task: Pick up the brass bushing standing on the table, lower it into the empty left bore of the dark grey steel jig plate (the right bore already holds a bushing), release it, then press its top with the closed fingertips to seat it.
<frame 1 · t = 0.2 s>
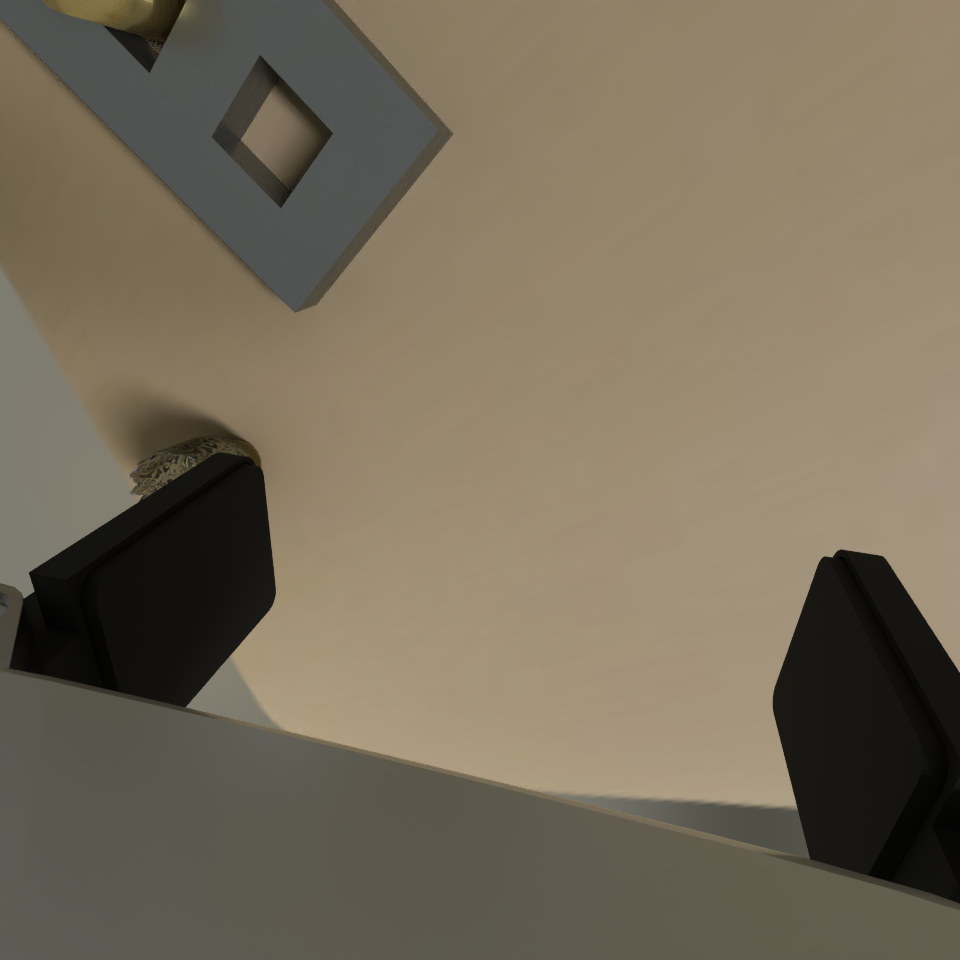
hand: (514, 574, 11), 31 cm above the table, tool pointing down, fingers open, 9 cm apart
jig: (234, 72, 37), on the table
cup: (245, 457, 49), on the table
seated bushing: (169, 3, 37), resting in jig
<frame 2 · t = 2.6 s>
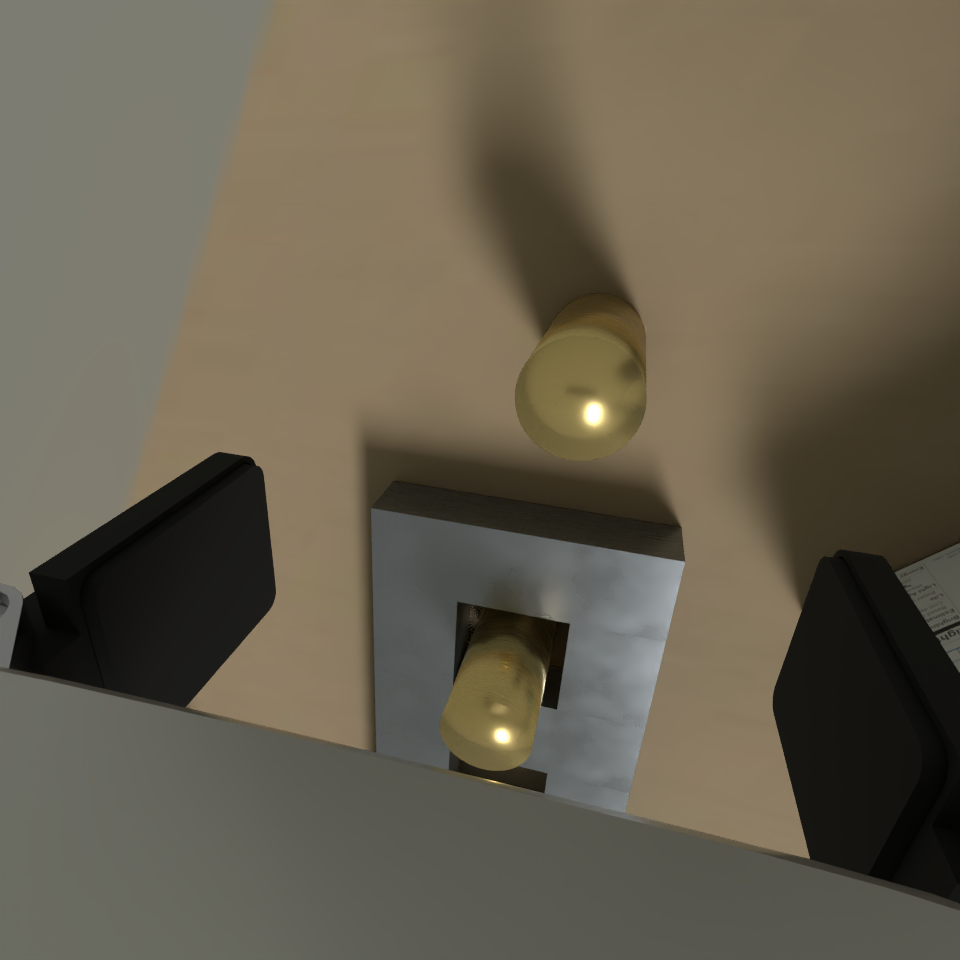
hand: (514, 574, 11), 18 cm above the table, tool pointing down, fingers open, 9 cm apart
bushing: (596, 342, 26), on the table
light bulb box: (950, 608, 28), on the table
jig: (511, 689, 35), on the table
seated bushing: (519, 618, 33), resting in jig
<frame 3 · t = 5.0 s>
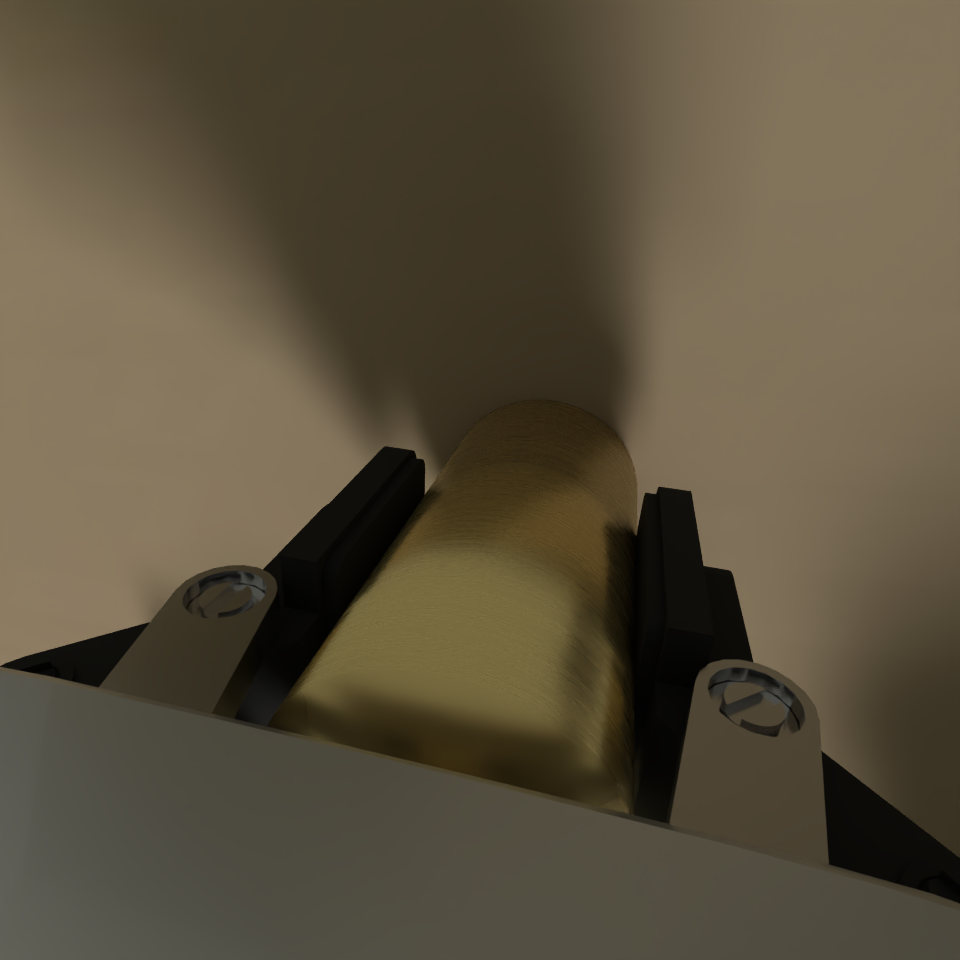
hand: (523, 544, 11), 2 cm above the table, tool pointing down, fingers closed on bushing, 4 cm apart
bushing: (541, 489, 13), on the table, touching gripper
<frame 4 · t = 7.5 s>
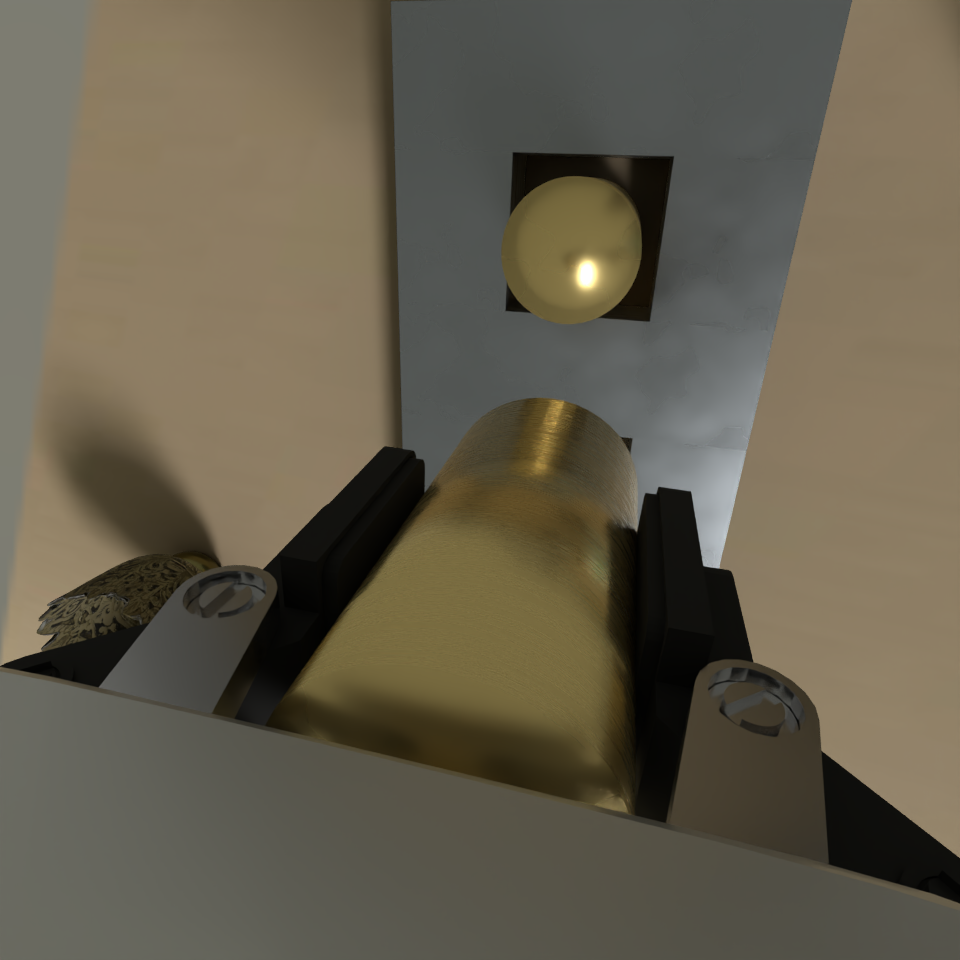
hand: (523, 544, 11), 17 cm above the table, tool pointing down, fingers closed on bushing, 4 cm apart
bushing: (541, 487, 13), point 15 cm above the table, touching gripper
jig: (577, 356, 27), on the table
cup: (204, 570, 38), on the table
seated bushing: (589, 233, 25), resting in jig
when the fingers open (4 cm above the table, at t = 10.3 s): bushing drops 2 cm, resting in jig.
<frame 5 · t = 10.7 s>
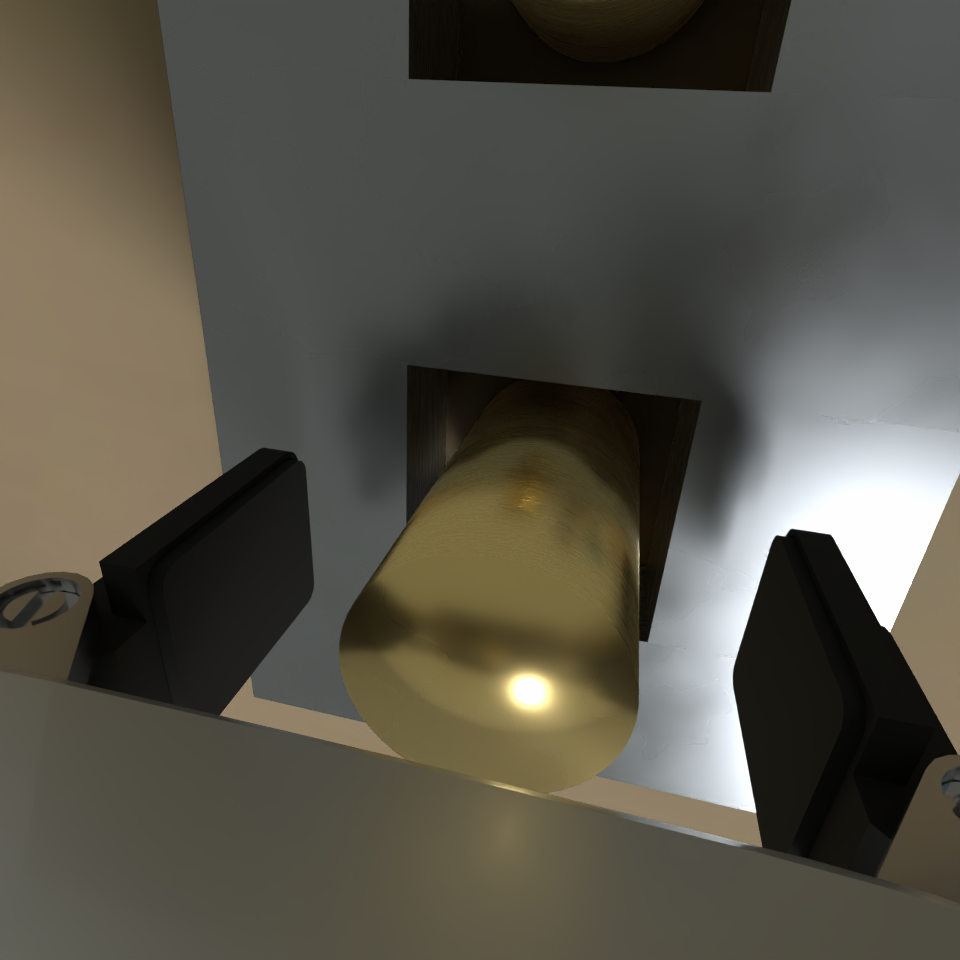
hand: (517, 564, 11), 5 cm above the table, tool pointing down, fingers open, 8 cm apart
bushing: (554, 452, 15), resting in jig
jig: (578, 234, 13), on the table
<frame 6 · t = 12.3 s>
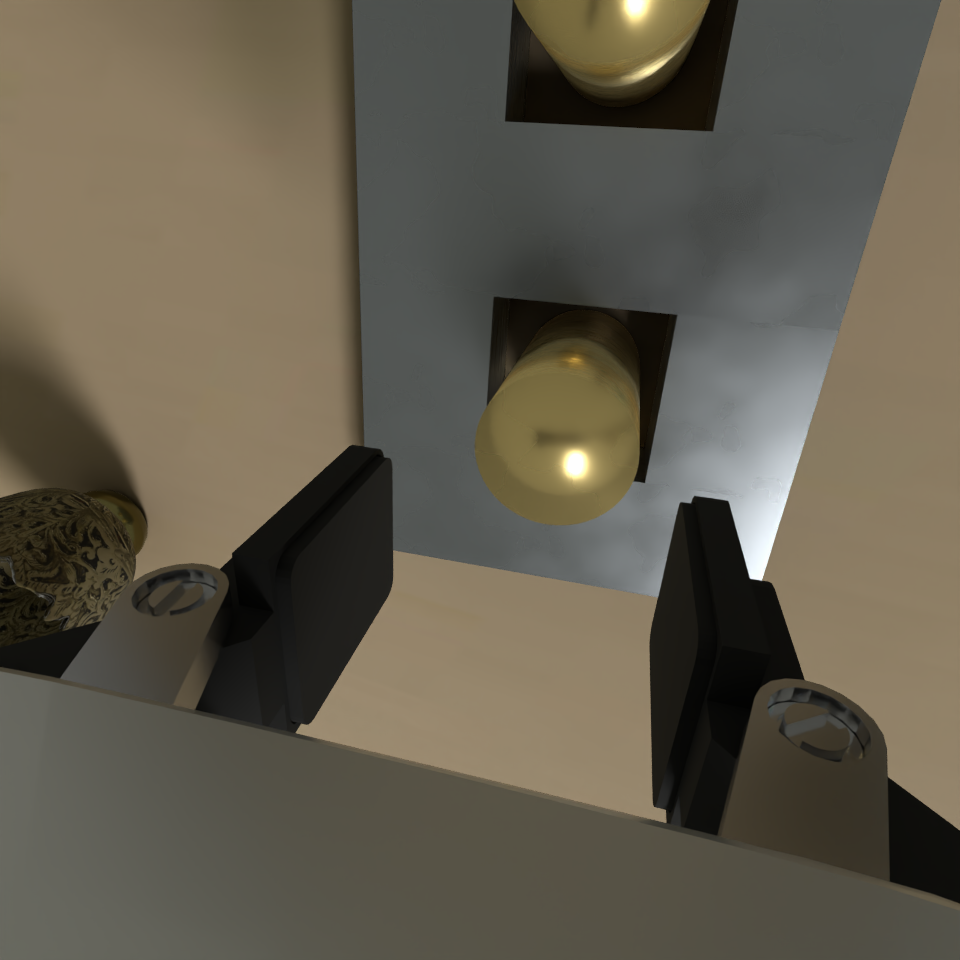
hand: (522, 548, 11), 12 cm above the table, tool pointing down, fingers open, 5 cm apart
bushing: (581, 367, 22), resting in jig
jig: (599, 215, 20), on the table
cup: (124, 516, 31), on the table
seated bushing: (624, 26, 18), resting in jig
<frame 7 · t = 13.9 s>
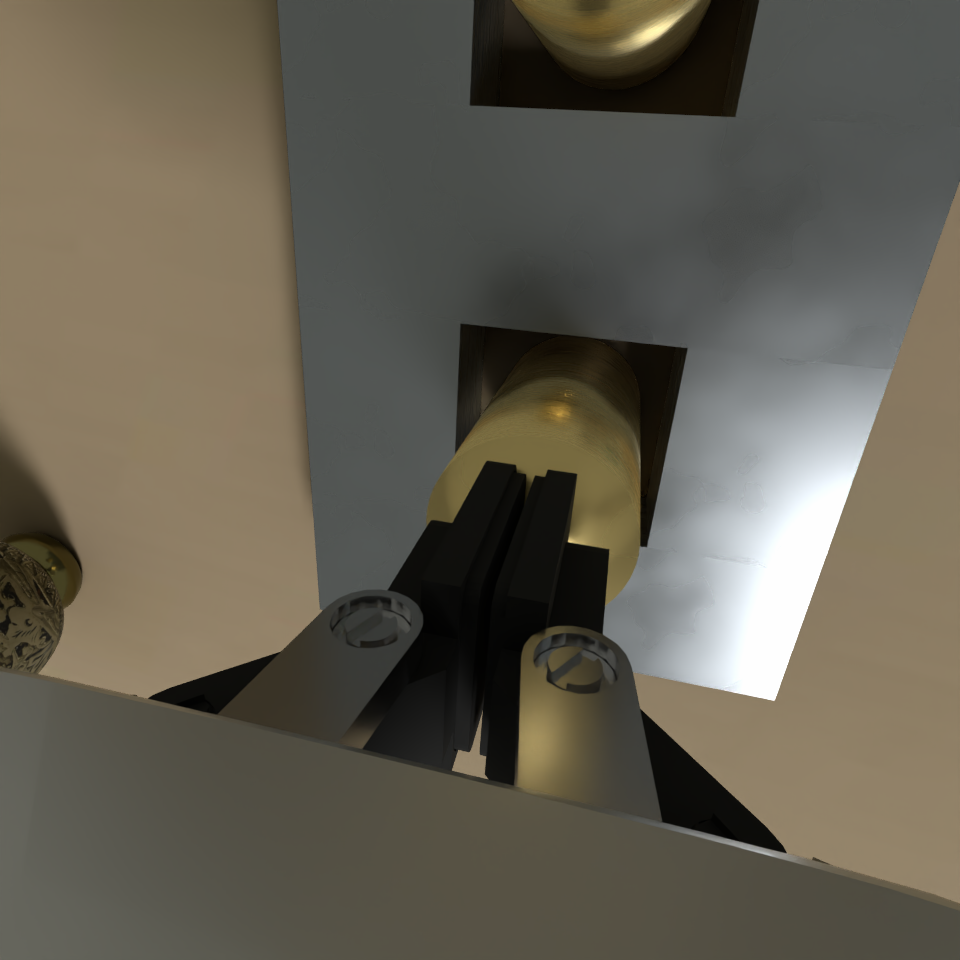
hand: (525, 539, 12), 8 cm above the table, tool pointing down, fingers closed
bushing: (571, 402, 19), resting in jig, touching gripper
jig: (592, 223, 16), on the table
cup: (56, 560, 27), on the table
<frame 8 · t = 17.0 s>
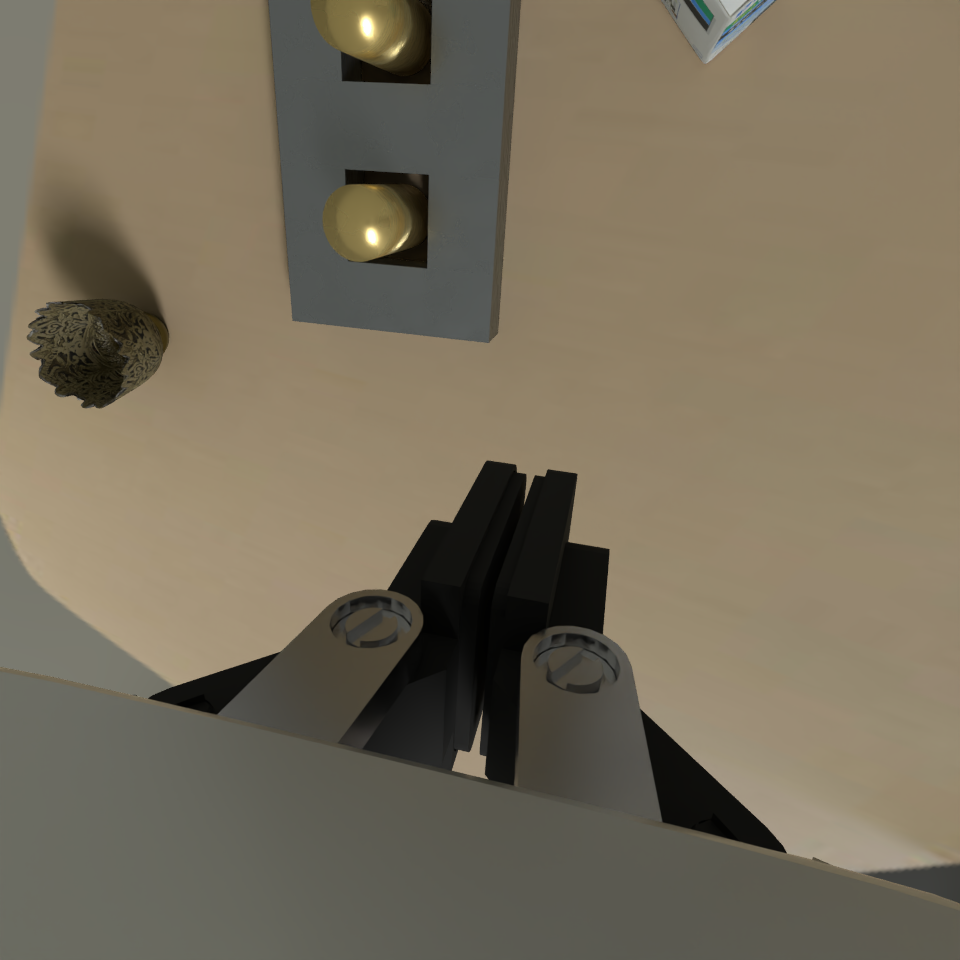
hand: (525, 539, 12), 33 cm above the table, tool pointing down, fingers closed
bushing: (403, 216, 42), resting in jig
jig: (402, 132, 40), on the table
cup: (154, 332, 50), on the table
seated bushing: (403, 36, 37), resting in jig
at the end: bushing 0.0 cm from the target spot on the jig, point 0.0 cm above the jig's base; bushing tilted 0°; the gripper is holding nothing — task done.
